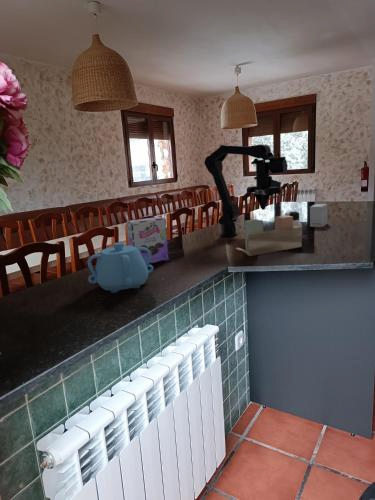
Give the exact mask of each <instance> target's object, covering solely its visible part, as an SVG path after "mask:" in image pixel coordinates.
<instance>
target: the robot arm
mask: <svg viewBox="0 0 375 500" xmlns="http://www.w3.org/2000/svg"><path fill="white" fill-rule="evenodd" d="M228 154H229V155H245V156H250V157H252V158H254V159H253V160H252V161H251V163H250V164H251V165H255V174H256V175H255V176H254V178H253V179H254V180H256V181H255V182H256V185H255V186H254V185H253V186H252V185H251V186H248V187H246V194H252V193H254V194H253V196H254V198H256V201H257V202H258V204H259V207H260V209H261V210H262V211H263V210H266V207H267V204H268V201H269V198H271V196H274V195H279V194H282V188H281V185H282V182H281V181H277V180H276V179H273V177H272V175H273V174H274V175H275V174H286V173H287V172H288V167H289V166H288V165H289V164H288V162H287V159H286V156H280V157H276V156H275V155H274V153H273V152H272V150H271V147H270V146H269V144H254V145H253V144H252V145H248V146H245V145H244V146H243V145H229V144H221V145H220V146H219V147H218V148H216V150H214V151H213V152H212V153H211V154H209V155H207V156H206V157H205V159H204V165H205V167H206V170H207V171H208V173H209V174H210V175H211V176H212V179H213V181H214V184H215V186H216V190H217V193H218V195H219V198H220V201H221V205H222V206H221V213H222V216H220V218H219V219H217V221H218V224H219V225H221V226H220V228H221V229H220V230H221V231H220V232H221V234H219V237H226V238H231V237H234V236H237V235H238V233H237V229H236V228H237V227H236V222H237V219H238V218H239V216H240V213H241V212H240V211H241V209H240V207H239V203H238V202H234V201H233V199H232V197H231V195H230V191H229V189H228V186H227V183H226V179H225V177H224V174H223V161H224V160H225V159H226V157H227V156H228ZM270 173H271V174H272V175H270Z"/></svg>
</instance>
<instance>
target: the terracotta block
mask: <svg viewBox="0 0 375 500" xmlns="http://www.w3.org/2000/svg"><path fill="white" fill-rule="evenodd" d="M290 227H293V216H287V215H285V214H284V215H277V216H274V230H278V229H284V228H290Z"/></svg>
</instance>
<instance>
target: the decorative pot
mask: <svg viewBox="0 0 375 500" xmlns="http://www.w3.org/2000/svg"><path fill="white" fill-rule="evenodd" d="M141 250H144V251H146V252H147V259H146V263H145V261H144V259H143V257H142V255H141V254H140V252H139V251H141ZM150 257H151V253H150V251H149V250H148V249H147V248H145V247H139V248H136V247H134V246H129V245H125V242H121V241H119V242H114V243H113V244H112V247H107V248H104V249H102V250H100V253H96V254H93V255H91V256H90V257H89V258H88V260H87V267H88V269H89V271H90V273H91V274H90V275H89V276H88V282H89V283H90V284H94V285H95V284H98V285H99V286H100V288H101V289H102V290H105V291H110V293H113V294H116V293H119V292H120V291H121V290H122V291H123V290H128V289H140V288H141V286H142V285H144V284H145V283H146V282H147V280H148V278H149V274H151V273H152V272H153V271H154V266H153V265H152V264H149V262H150ZM96 258H97V261H96V265H95V270H94V267H93V265H92V261H93V260H94V259H96ZM149 268H150V269H149ZM92 278H94V279H92Z"/></svg>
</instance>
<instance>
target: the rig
mask: <svg viewBox="0 0 375 500" xmlns="http://www.w3.org/2000/svg"><path fill="white" fill-rule="evenodd" d="M302 240H303V226H302V227H300V226H297V227H290V228H284V229H278V230H275V229H273V230H267V231H263V232H258V233H252V234H247V251H246V249H243V248H240V247H236V248H235V249H236V250H237V251H239V252H243V253H245V254H246V256H249V257H252V256H258V255H263V254H269V253H273V252H274V253H275V252H279V251H284V250H286V251H287V250H290V249H297V248H301V247H302V245H303V244H302V243H303V241H302Z"/></svg>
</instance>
